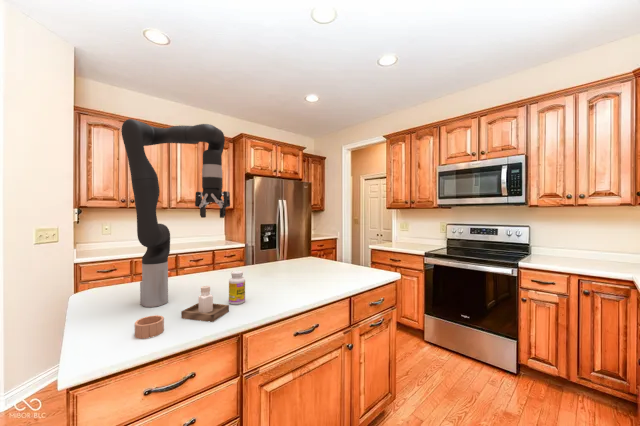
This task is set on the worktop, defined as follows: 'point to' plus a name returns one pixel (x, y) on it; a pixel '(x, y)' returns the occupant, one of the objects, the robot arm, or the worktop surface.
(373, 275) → the worktop surface
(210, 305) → the salt shaker
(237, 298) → the supplement bottle
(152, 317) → the collar
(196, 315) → the tray
